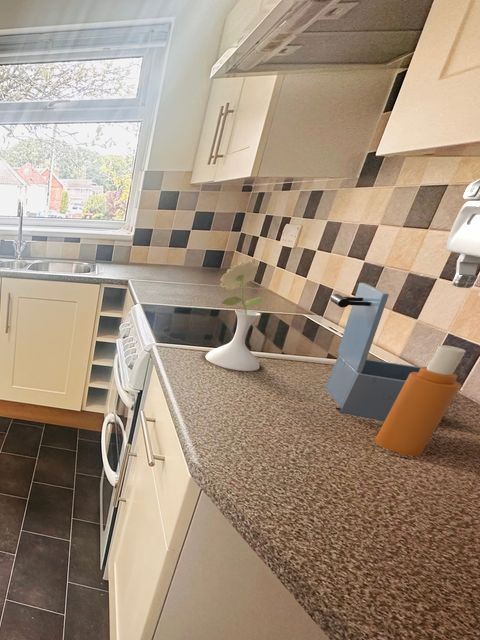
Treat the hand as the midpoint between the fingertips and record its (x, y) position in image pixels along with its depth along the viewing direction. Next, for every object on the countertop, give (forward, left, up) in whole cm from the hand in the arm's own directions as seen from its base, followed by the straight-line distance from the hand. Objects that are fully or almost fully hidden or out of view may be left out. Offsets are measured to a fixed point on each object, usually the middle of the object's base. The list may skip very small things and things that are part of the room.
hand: (479, 292), depth 59 cm
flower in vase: (+23, -27, -26) cm, 44 cm away
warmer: (-2, -15, -26) cm, 30 cm away
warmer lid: (+5, -15, -10) cm, 19 cm away
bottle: (0, +1, -26) cm, 26 cm away
